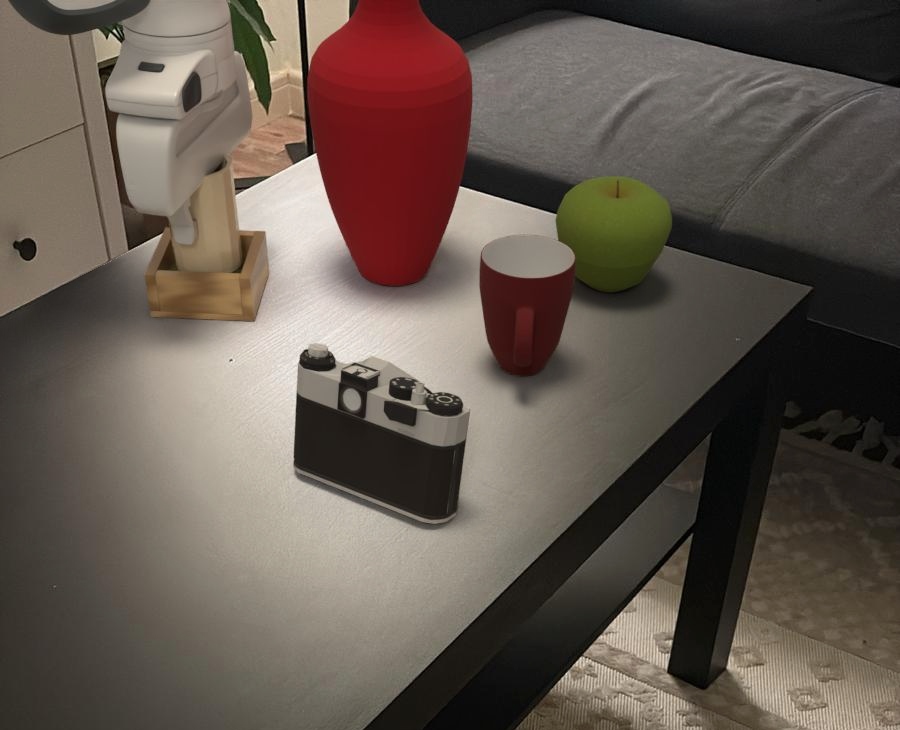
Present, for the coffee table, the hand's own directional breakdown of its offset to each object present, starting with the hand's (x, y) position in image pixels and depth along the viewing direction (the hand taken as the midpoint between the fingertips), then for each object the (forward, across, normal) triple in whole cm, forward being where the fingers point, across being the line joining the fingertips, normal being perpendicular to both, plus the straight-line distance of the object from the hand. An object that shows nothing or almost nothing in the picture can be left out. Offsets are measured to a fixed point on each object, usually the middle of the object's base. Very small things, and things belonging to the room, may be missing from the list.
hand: (203, 223), depth 118 cm
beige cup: (+4, 0, 0) cm, 4 cm away
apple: (+7, -13, +36) cm, 39 cm away
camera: (+7, +23, +25) cm, 35 cm away
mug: (+7, +6, +32) cm, 33 cm away
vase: (+7, -9, +15) cm, 19 cm away
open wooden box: (+7, 0, 0) cm, 7 cm away
